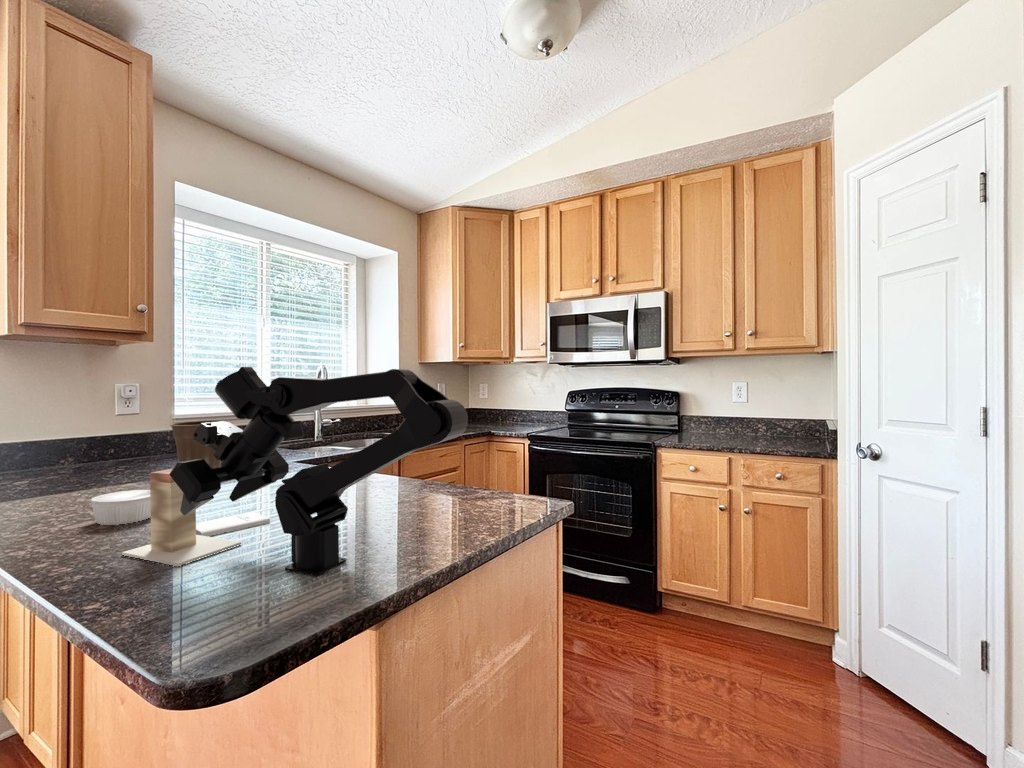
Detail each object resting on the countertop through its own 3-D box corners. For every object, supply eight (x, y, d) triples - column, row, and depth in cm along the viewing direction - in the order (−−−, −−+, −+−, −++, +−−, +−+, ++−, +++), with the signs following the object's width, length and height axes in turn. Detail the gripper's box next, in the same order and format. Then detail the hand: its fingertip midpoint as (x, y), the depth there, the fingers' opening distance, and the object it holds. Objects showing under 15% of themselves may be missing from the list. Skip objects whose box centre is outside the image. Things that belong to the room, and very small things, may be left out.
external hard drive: (186, 532, 96) (253, 518, 106) (201, 541, 91) (270, 525, 101) (186, 524, 96) (253, 510, 106) (201, 532, 91) (270, 517, 101)
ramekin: (157, 521, 103) (157, 496, 103) (87, 531, 96) (86, 504, 96) (158, 510, 112) (158, 487, 112) (94, 518, 106) (94, 494, 105)
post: (196, 543, 86) (195, 469, 86) (171, 552, 81) (170, 473, 81) (176, 541, 87) (175, 468, 87) (151, 550, 83) (150, 472, 83)
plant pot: (185, 478, 148) (185, 425, 148) (161, 473, 157) (160, 423, 157) (240, 470, 162) (239, 421, 162) (215, 466, 171) (214, 419, 171)
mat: (241, 545, 87) (241, 541, 87) (177, 567, 76) (177, 563, 76) (187, 536, 92) (187, 533, 92) (122, 555, 82) (121, 552, 82)
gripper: (273, 402, 90) (227, 462, 93) (177, 407, 72) (123, 481, 75) (311, 445, 87) (262, 505, 90) (221, 462, 69) (164, 536, 73)
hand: (208, 505), depth 82 cm, fingers open, 9 cm apart
